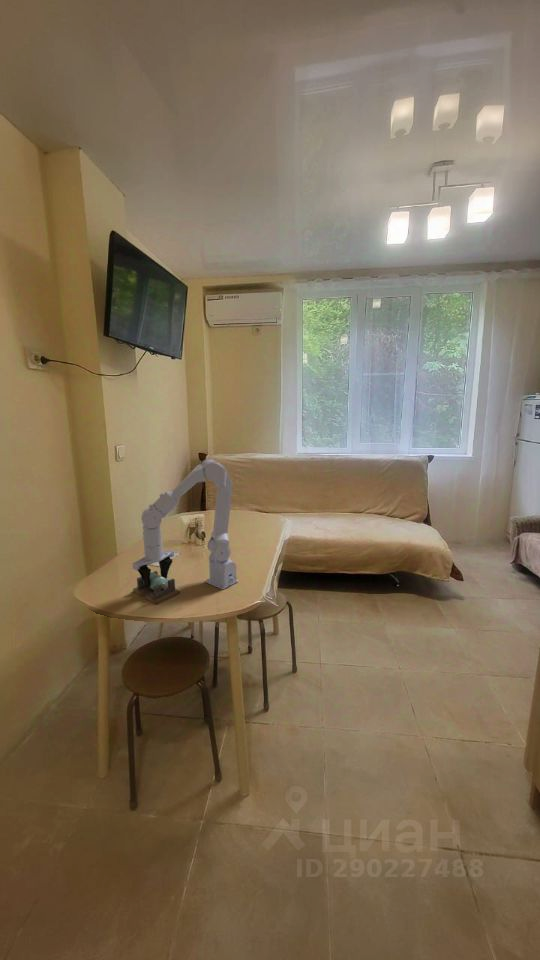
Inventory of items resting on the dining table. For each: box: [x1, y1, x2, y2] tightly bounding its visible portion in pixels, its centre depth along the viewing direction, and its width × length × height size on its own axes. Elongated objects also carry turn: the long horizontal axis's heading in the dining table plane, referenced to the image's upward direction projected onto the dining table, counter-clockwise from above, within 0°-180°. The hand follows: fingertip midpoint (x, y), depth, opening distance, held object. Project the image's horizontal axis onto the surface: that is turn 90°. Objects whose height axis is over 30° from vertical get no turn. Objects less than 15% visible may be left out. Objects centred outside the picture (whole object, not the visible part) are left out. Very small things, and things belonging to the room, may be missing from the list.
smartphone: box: [149, 551, 182, 568], centre depth 151 cm, size 7×1×15 cm
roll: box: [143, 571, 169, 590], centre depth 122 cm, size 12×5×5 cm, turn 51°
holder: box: [132, 570, 181, 605], centre depth 122 cm, size 14×9×5 cm, turn 51°
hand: (155, 582), depth 122 cm, fingers open, 6 cm apart
